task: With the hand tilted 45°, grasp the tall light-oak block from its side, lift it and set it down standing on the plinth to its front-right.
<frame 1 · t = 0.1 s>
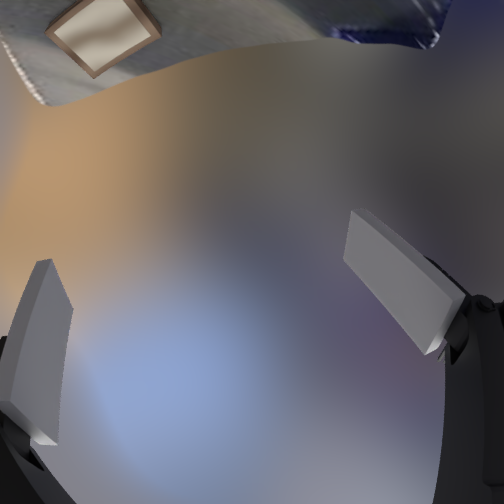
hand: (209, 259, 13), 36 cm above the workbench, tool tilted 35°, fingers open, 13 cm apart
plinth: (105, 22, 27), on the workbench
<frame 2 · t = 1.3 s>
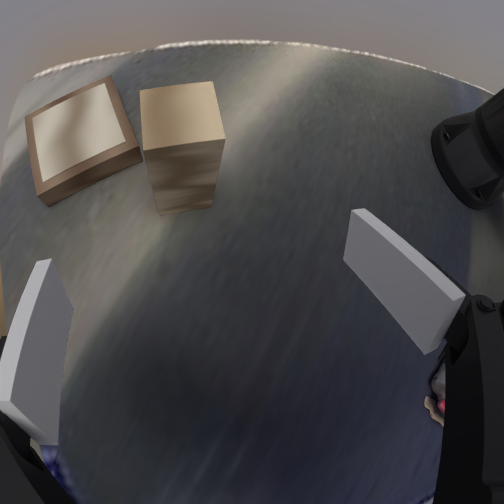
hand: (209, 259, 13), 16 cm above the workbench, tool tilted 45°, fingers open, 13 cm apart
oak block: (181, 187, 29), on the workbench
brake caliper: (451, 383, 31), on the workbench
plinth: (81, 143, 28), on the workbench
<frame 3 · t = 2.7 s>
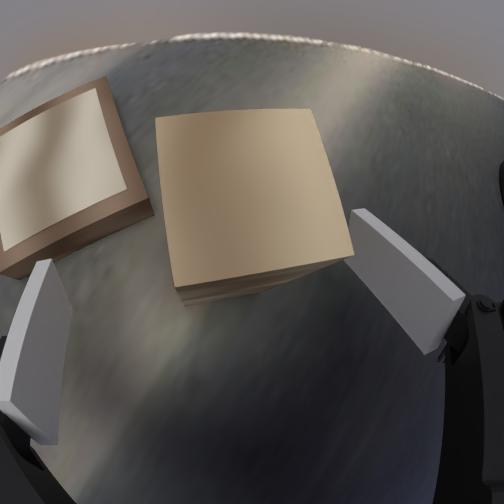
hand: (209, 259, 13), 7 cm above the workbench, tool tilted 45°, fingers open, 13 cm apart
oak block: (216, 260, 20), on the workbench
plinth: (62, 180, 19), on the workbench
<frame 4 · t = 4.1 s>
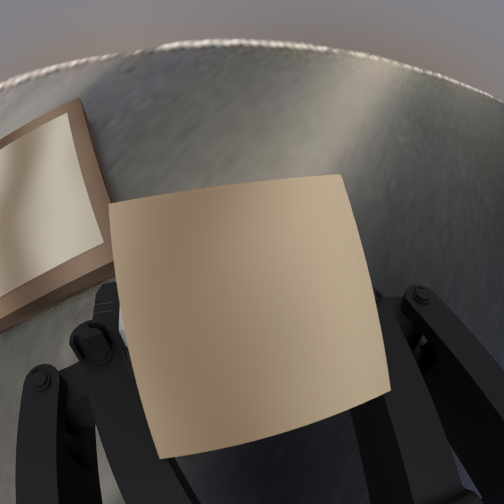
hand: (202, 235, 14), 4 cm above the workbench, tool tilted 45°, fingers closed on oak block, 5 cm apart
oak block: (212, 317, 17), on the workbench, touching gripper
plinth: (36, 221, 16), on the workbench
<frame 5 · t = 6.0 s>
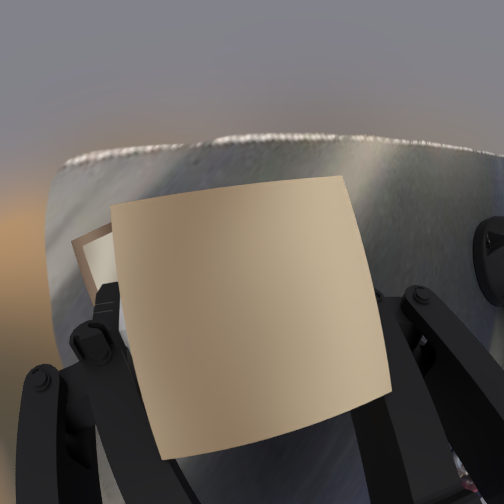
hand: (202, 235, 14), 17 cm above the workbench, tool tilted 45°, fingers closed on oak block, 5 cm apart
oak block: (212, 317, 17), point 13 cm above the workbench, touching gripper
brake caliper: (458, 460, 32), on the workbench
plinth: (145, 275, 29), on the workbench
when the fingers open (8 cm above the workbench, at t = 8.3 s): oak block stays where it is, resting on plinth.
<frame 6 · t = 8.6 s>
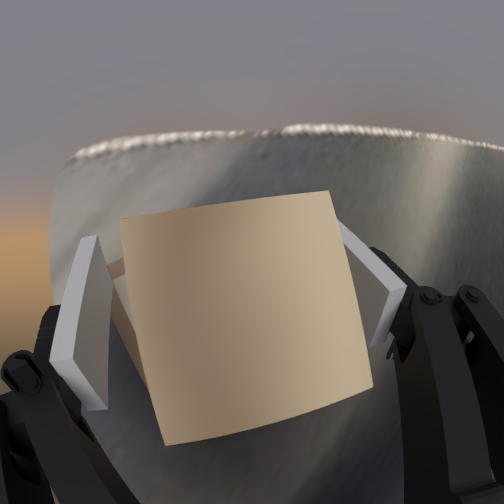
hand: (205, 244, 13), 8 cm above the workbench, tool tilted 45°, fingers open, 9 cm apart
oak block: (211, 318, 18), point 3 cm above the workbench, touching plinth
plinth: (207, 317, 21), on the workbench
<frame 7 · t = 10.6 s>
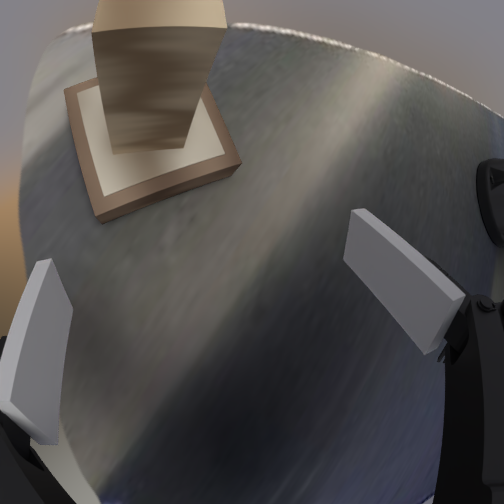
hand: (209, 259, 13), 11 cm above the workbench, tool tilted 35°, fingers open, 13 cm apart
oak block: (147, 120, 20), point 3 cm above the workbench, touching plinth
plinth: (145, 137, 23), on the workbench
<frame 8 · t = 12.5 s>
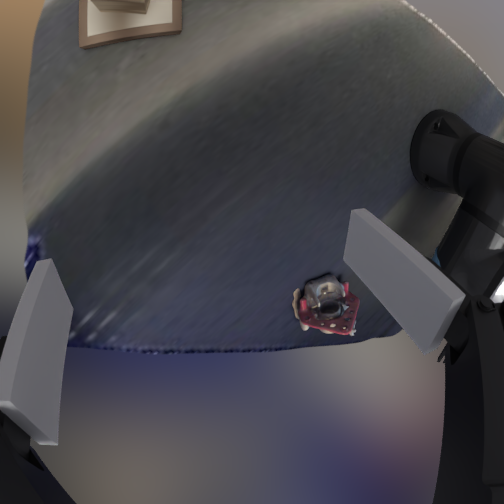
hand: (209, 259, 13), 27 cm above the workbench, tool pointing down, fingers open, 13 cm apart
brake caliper: (317, 293, 56), on the workbench
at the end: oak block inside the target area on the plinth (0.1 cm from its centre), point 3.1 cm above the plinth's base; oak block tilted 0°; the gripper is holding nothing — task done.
